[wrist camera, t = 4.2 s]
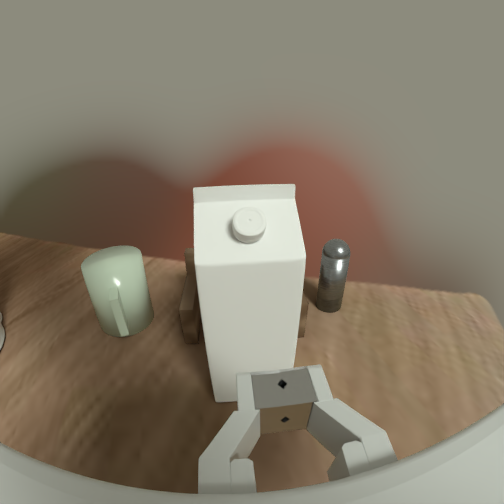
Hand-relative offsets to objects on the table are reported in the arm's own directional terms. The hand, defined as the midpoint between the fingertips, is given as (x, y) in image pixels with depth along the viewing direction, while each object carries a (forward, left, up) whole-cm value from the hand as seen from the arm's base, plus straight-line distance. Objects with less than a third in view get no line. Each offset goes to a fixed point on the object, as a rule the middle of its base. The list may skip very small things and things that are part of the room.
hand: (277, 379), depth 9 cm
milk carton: (0, +13, -15) cm, 20 cm away
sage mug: (-16, +22, -15) cm, 31 cm away
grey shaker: (+12, +24, -15) cm, 30 cm away
